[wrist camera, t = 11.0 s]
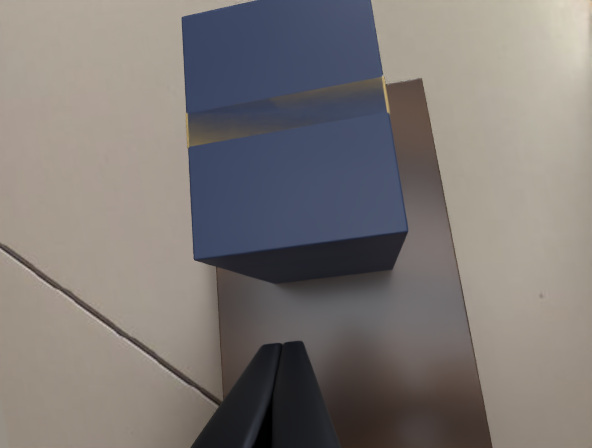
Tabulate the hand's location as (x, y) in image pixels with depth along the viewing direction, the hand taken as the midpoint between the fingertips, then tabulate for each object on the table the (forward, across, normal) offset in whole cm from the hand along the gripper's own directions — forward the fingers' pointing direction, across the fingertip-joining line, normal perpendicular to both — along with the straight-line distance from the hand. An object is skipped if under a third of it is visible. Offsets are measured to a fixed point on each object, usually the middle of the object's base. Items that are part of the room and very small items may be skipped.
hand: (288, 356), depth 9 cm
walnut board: (+11, 0, +8) cm, 13 cm away
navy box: (+7, 0, +3) cm, 8 cm away
